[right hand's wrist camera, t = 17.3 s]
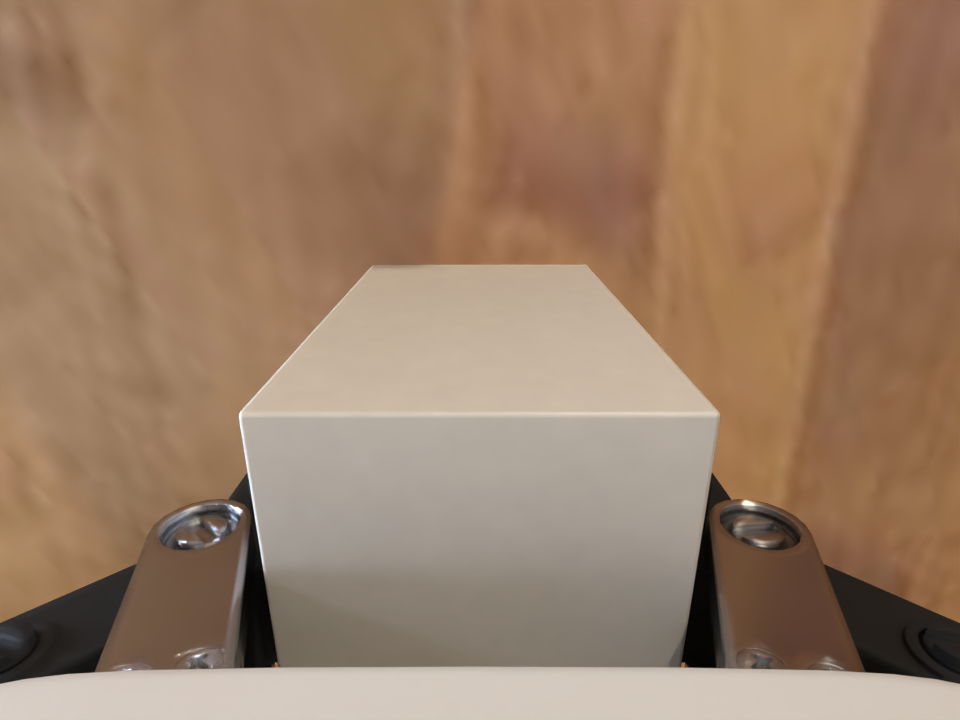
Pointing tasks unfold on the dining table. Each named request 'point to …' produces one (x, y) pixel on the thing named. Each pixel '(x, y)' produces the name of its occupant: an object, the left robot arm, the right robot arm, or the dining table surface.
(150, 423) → the dining table surface
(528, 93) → the dining table surface
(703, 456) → the block
